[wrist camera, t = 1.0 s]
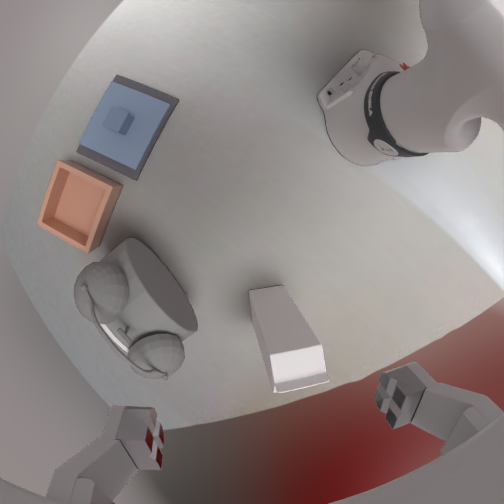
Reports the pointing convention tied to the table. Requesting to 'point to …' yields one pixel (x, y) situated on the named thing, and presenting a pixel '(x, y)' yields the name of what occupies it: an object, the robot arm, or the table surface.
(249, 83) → the table surface
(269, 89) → the table surface
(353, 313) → the table surface
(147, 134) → the lid
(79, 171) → the dish
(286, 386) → the milk
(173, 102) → the mat
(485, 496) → the robot arm
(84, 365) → the table surface
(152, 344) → the alarm clock
